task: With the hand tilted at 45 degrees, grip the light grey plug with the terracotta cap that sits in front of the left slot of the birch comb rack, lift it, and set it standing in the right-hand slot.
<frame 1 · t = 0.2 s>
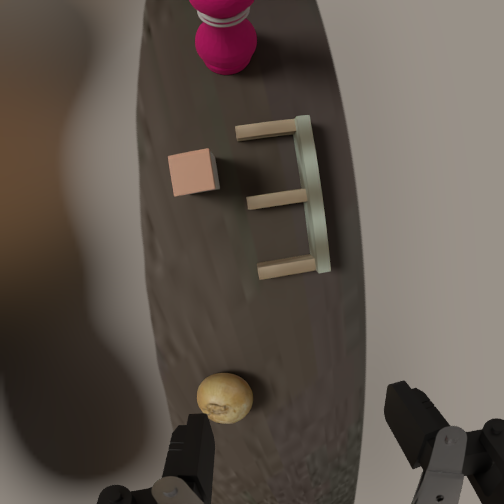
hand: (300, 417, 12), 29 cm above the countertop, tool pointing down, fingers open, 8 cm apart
onion: (225, 386, 44), on the countertop
plug: (201, 175, 38), on the countertop
comb rack: (275, 198, 39), on the countertop
pepper mill: (227, 55, 35), on the countertop
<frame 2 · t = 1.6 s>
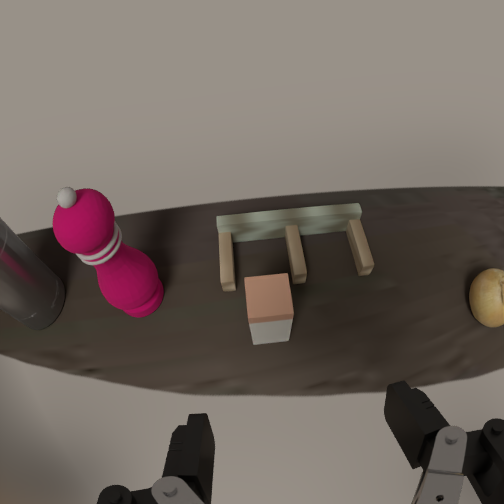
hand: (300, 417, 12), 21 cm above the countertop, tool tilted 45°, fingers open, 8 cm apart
onion: (482, 306, 35), on the countertop
plug: (269, 326, 36), on the countertop
comb rack: (294, 259, 40), on the countertop
pepper mill: (142, 295, 39), on the countertop
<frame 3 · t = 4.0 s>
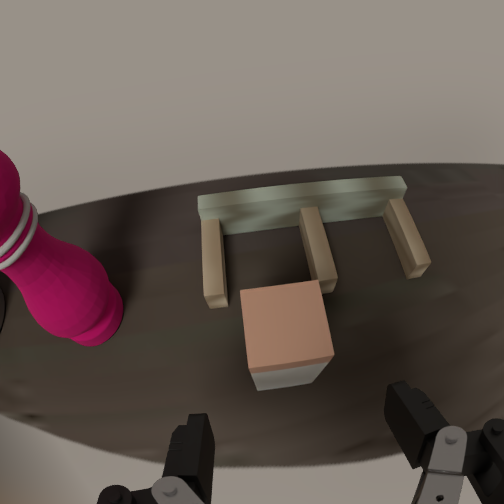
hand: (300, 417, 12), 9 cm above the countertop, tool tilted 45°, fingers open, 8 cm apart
plug: (281, 361, 22), on the countertop
comb rack: (315, 257, 27), on the countertop
pepper mill: (94, 314, 25), on the countertop
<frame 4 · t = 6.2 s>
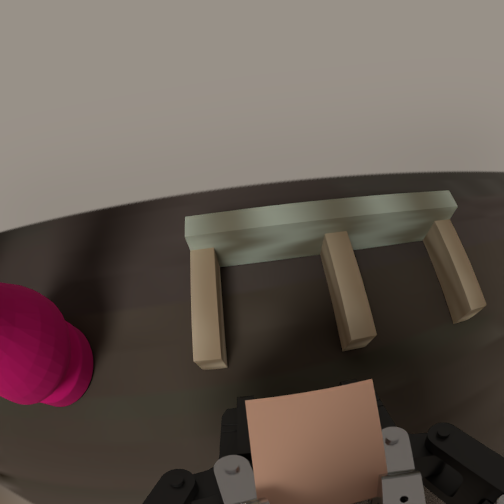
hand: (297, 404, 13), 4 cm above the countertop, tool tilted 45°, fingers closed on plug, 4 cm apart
plug: (297, 440, 15), on the countertop, touching gripper
comb rack: (342, 298, 20), on the countertop
pepper mill: (61, 365, 18), on the countertop
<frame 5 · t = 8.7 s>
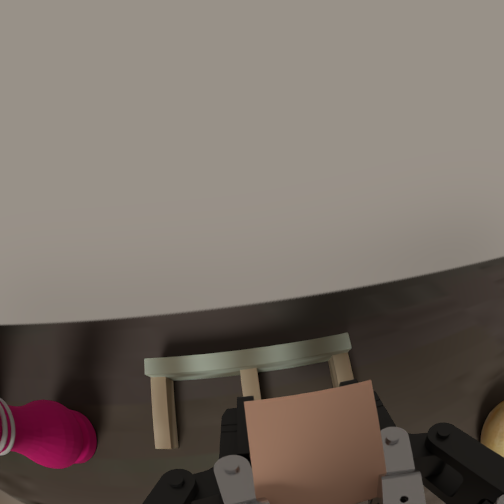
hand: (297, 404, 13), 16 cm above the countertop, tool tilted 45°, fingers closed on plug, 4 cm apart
onion: (495, 434, 22), on the countertop
plug: (297, 441, 15), point 12 cm above the countertop, touching gripper
comb rack: (254, 407, 27), on the countertop
pepper mill: (75, 437, 25), on the countertop
when the fingers open (5 cm above the countertop, at t = 11.3 s): plug drops 1 cm, on the countertop.
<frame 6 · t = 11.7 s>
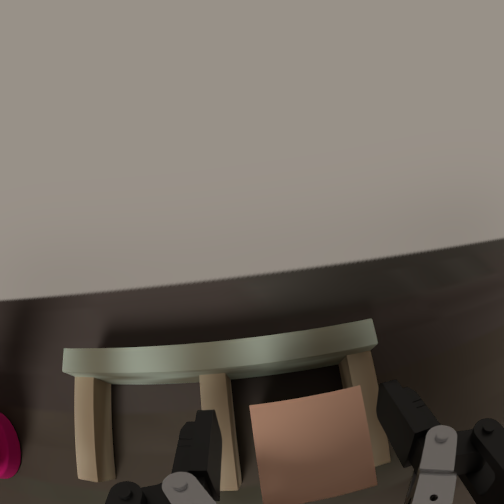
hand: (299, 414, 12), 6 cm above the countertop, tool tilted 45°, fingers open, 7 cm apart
plug: (295, 440, 17), on the countertop
comb rack: (224, 432, 17), on the countertop
pepper mill: (0, 445, 16), on the countertop
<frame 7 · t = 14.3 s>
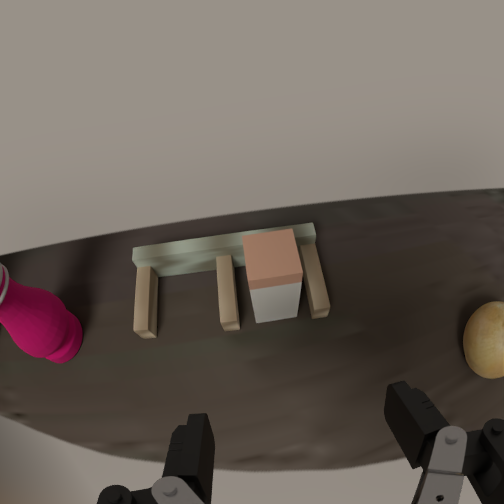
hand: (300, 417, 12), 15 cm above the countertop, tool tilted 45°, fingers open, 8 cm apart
onion: (480, 348, 26), on the countertop
plug: (273, 301, 31), on the countertop
comb rack: (229, 297, 32), on the countertop
pepper mill: (63, 338, 30), on the countertop
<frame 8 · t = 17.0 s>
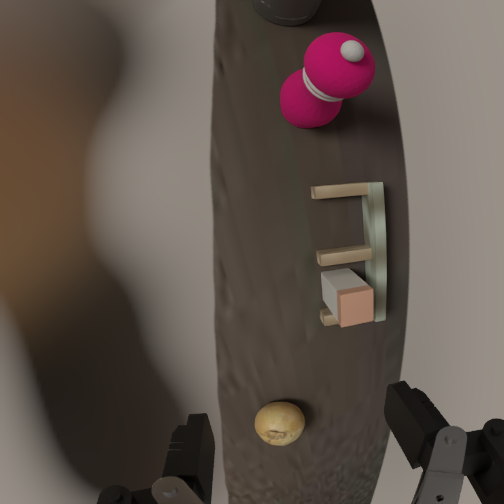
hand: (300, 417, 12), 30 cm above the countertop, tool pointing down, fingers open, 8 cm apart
onion: (278, 411, 48), on the countertop
plug: (335, 283, 43), on the countertop
comb rack: (341, 252, 42), on the countertop
pepper mill: (303, 106, 38), on the countertop
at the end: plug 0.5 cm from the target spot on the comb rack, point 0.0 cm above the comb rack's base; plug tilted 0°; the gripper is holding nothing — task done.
